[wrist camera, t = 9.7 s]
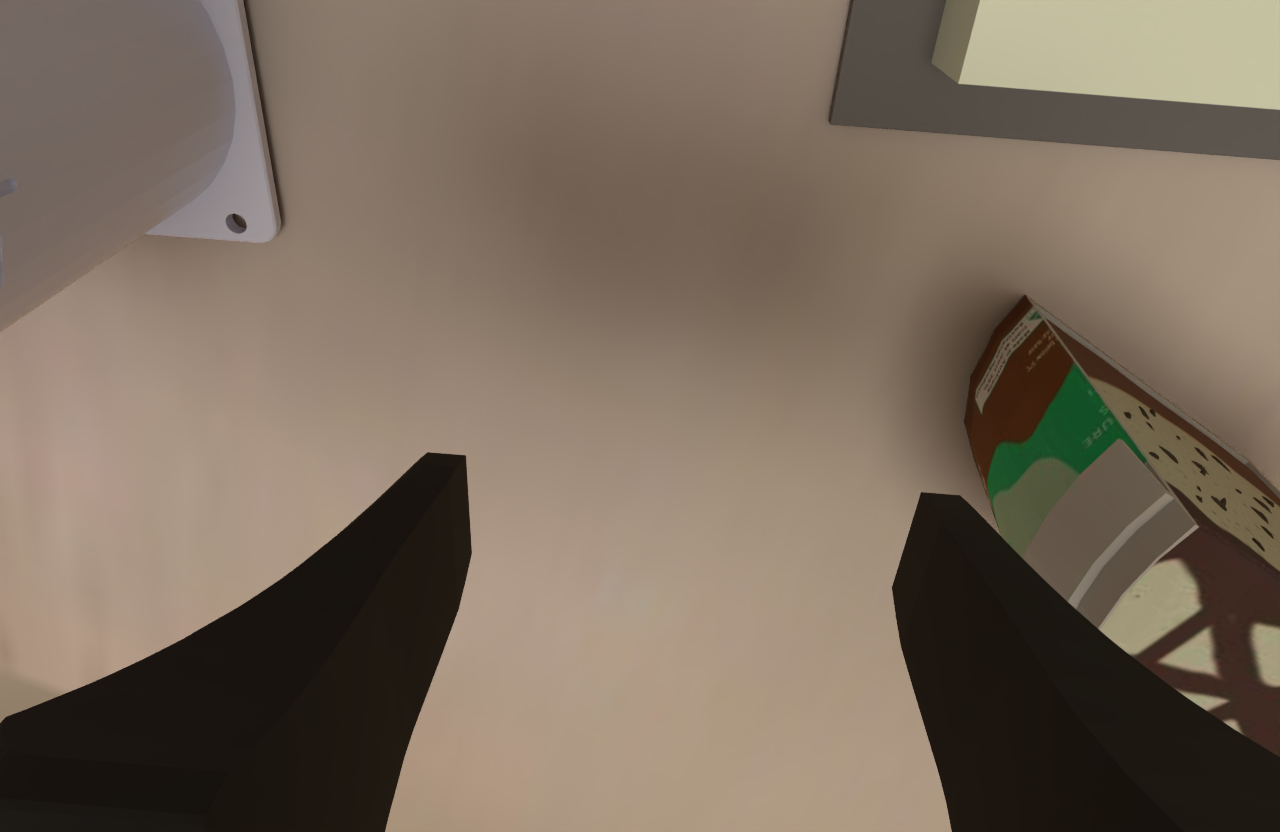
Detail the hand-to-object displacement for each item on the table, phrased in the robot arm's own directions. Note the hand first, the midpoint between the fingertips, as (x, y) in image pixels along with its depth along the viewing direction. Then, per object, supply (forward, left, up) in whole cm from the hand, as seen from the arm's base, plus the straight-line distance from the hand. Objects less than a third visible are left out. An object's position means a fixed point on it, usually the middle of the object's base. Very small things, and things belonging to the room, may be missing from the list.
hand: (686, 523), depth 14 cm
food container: (+12, -5, -11) cm, 17 cm away
